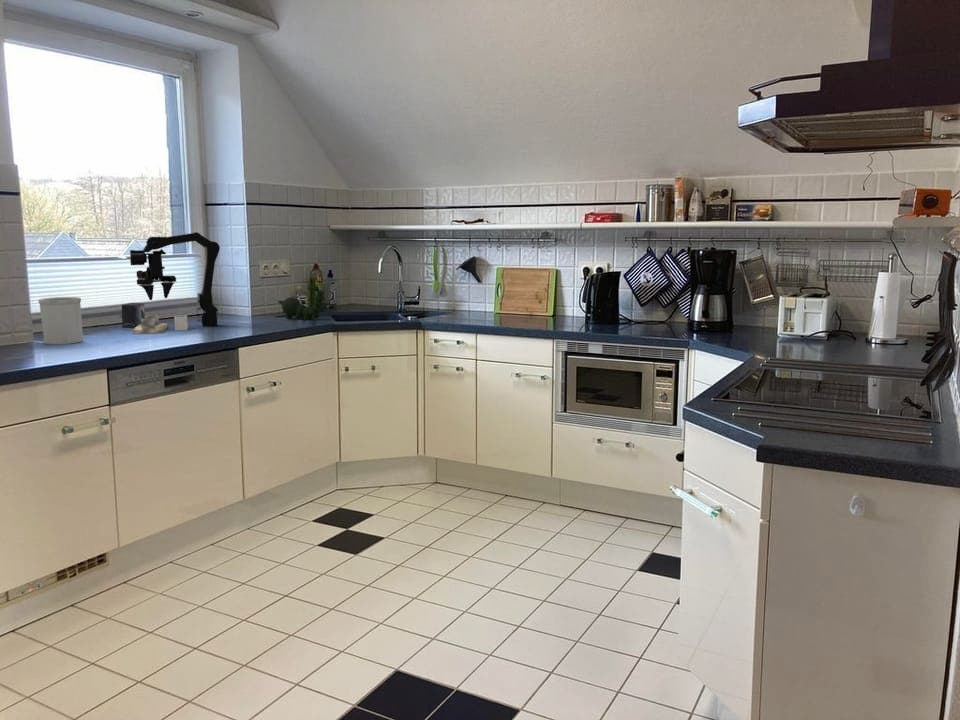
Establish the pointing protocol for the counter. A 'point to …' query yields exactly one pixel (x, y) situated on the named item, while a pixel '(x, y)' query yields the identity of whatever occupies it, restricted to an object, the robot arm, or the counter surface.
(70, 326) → the utensil holder
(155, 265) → the robot arm
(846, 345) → the counter surface
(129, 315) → the small box
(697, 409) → the counter surface
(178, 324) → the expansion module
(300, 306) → the toy figurine
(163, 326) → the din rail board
